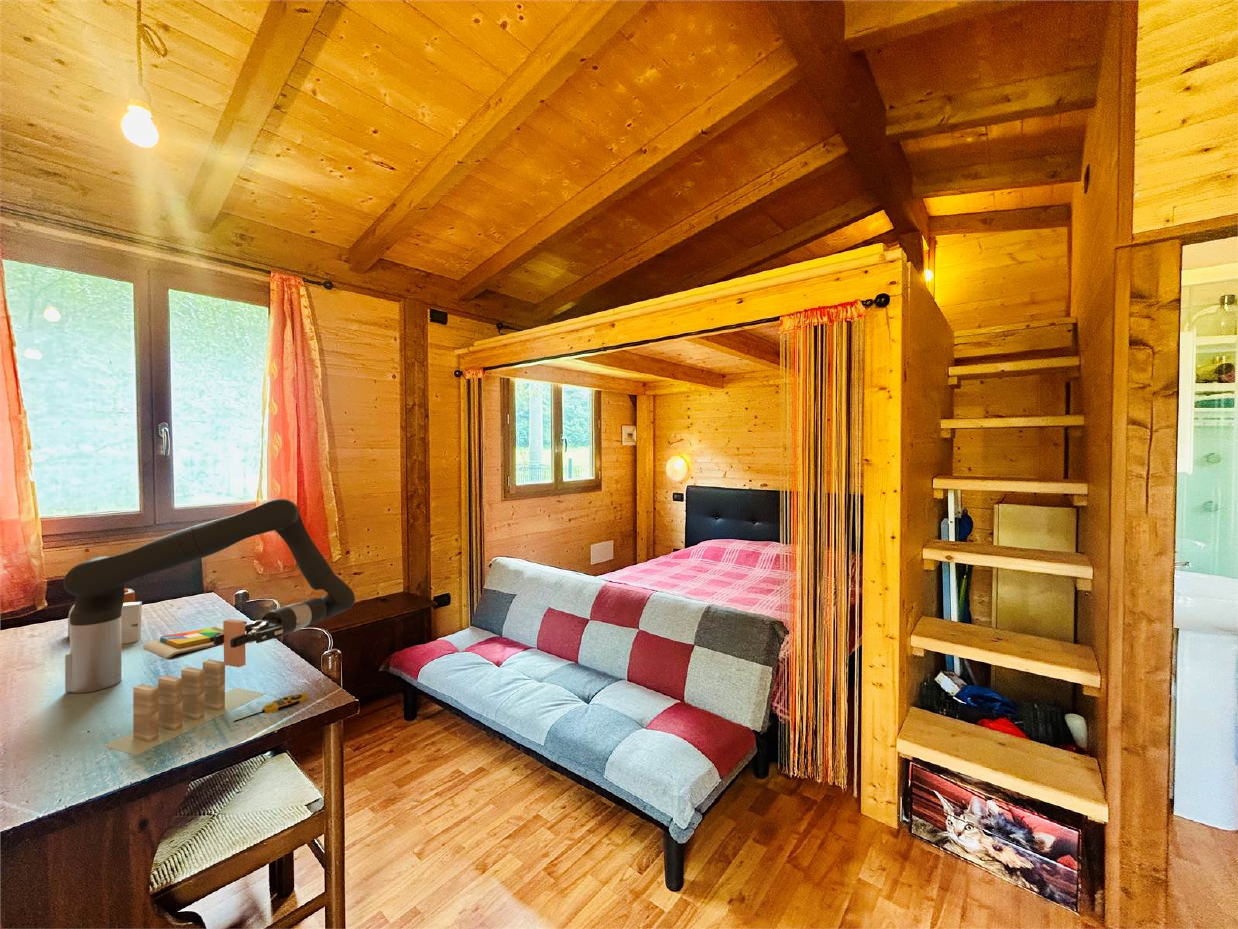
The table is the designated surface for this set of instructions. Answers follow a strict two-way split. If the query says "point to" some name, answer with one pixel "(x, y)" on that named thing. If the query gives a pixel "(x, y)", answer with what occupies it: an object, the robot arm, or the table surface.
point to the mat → (185, 723)
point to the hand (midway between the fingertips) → (223, 642)
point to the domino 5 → (230, 654)
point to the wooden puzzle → (183, 642)
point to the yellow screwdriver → (280, 704)
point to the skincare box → (131, 622)
